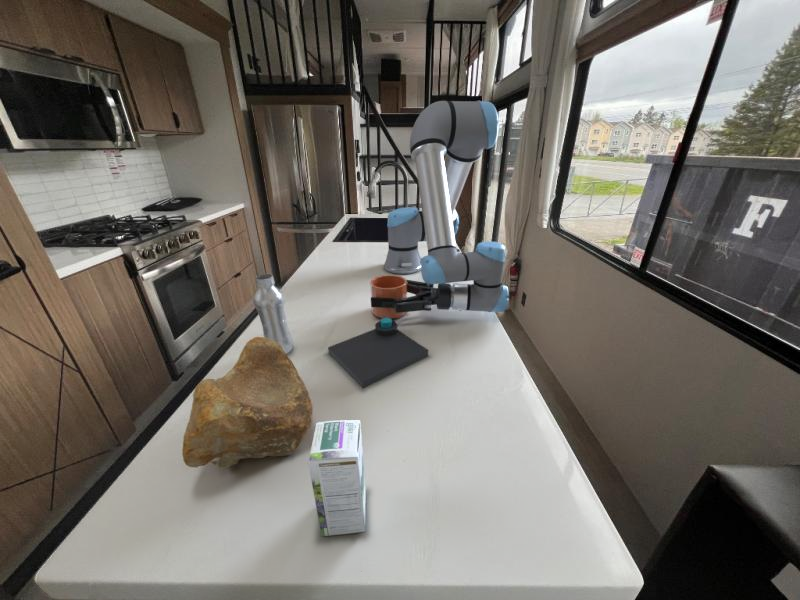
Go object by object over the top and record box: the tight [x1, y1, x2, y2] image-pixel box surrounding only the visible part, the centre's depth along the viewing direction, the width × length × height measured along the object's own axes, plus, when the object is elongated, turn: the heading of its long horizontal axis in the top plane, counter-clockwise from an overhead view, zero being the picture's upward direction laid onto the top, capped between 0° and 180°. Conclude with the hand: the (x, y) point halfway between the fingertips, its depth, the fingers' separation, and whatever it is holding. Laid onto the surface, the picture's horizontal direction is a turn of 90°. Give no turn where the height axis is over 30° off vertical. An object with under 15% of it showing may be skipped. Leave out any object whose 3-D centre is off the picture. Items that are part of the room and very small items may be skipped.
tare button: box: [380, 318, 393, 329], centre depth 83 cm, size 3×3×2 cm
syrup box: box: [307, 419, 367, 537], centre depth 41 cm, size 6×6×14 cm
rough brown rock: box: [181, 336, 313, 470], centre depth 54 cm, size 23×17×15 cm
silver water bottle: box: [252, 273, 294, 355], centre depth 75 cm, size 6×7×20 cm
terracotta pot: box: [369, 274, 408, 320], centre depth 95 cm, size 10×10×10 cm
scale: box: [327, 319, 429, 390], centre depth 77 cm, size 18×16×4 cm
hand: (375, 293), depth 95 cm, fingers closed on terracotta pot, 10 cm apart
